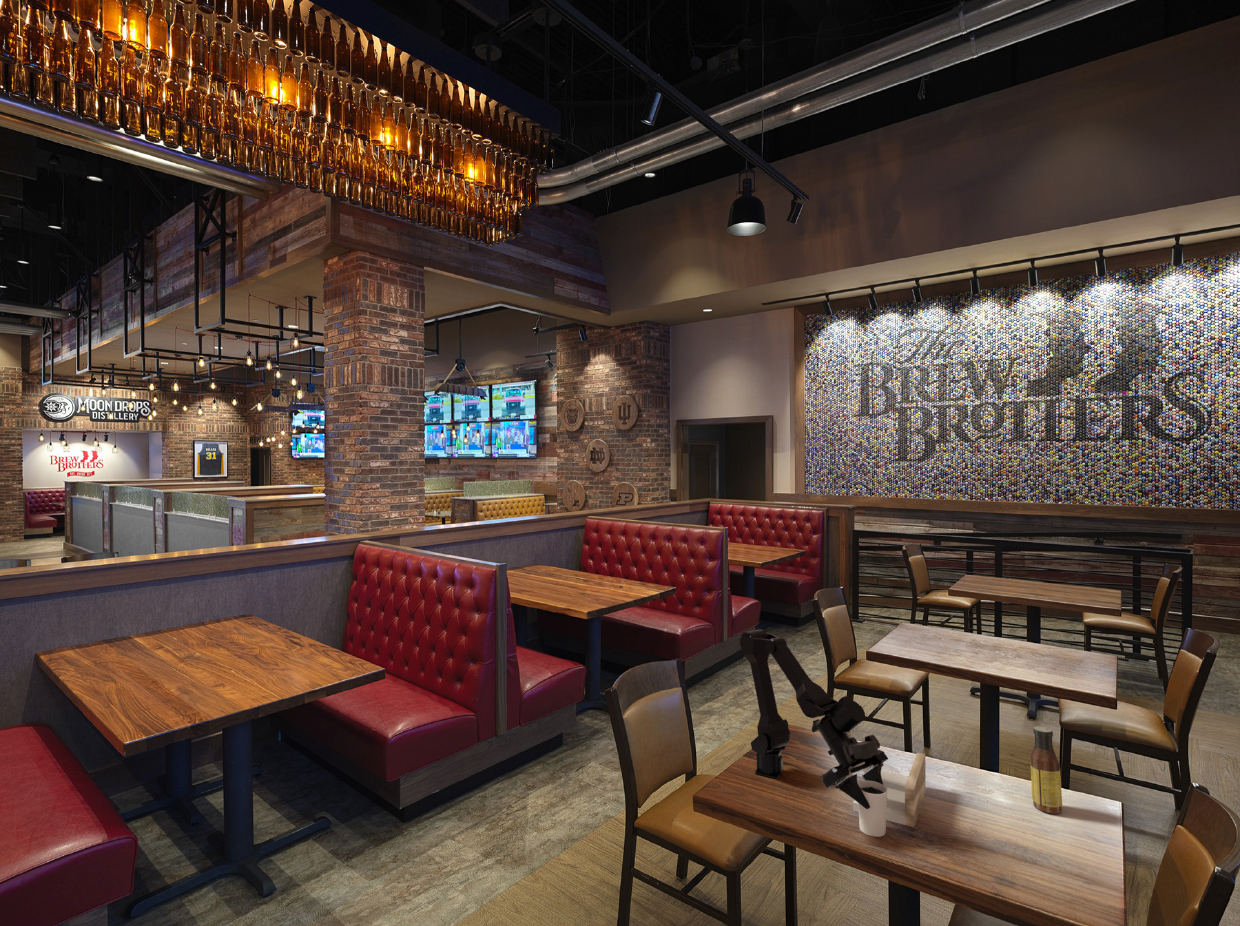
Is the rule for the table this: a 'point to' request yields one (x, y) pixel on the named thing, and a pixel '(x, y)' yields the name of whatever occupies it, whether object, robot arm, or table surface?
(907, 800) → the ash wall board
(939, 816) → the table surface
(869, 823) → the white coffee cup
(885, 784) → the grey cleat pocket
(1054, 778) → the sauce bottle
